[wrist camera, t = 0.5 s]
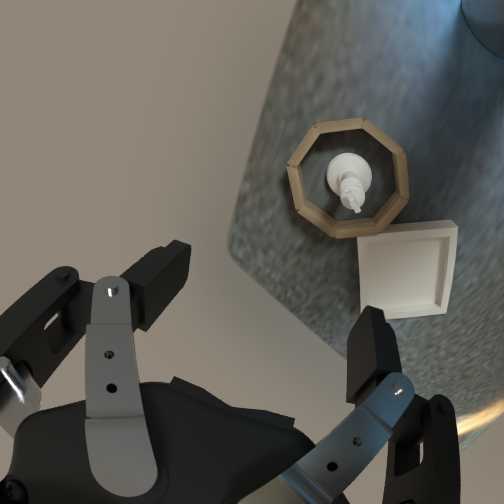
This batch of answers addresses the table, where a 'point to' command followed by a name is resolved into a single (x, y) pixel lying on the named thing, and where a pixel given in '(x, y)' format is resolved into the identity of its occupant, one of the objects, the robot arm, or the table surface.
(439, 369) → the table surface
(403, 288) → the tray
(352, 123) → the holder ring
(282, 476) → the robot arm
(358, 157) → the chess piece
